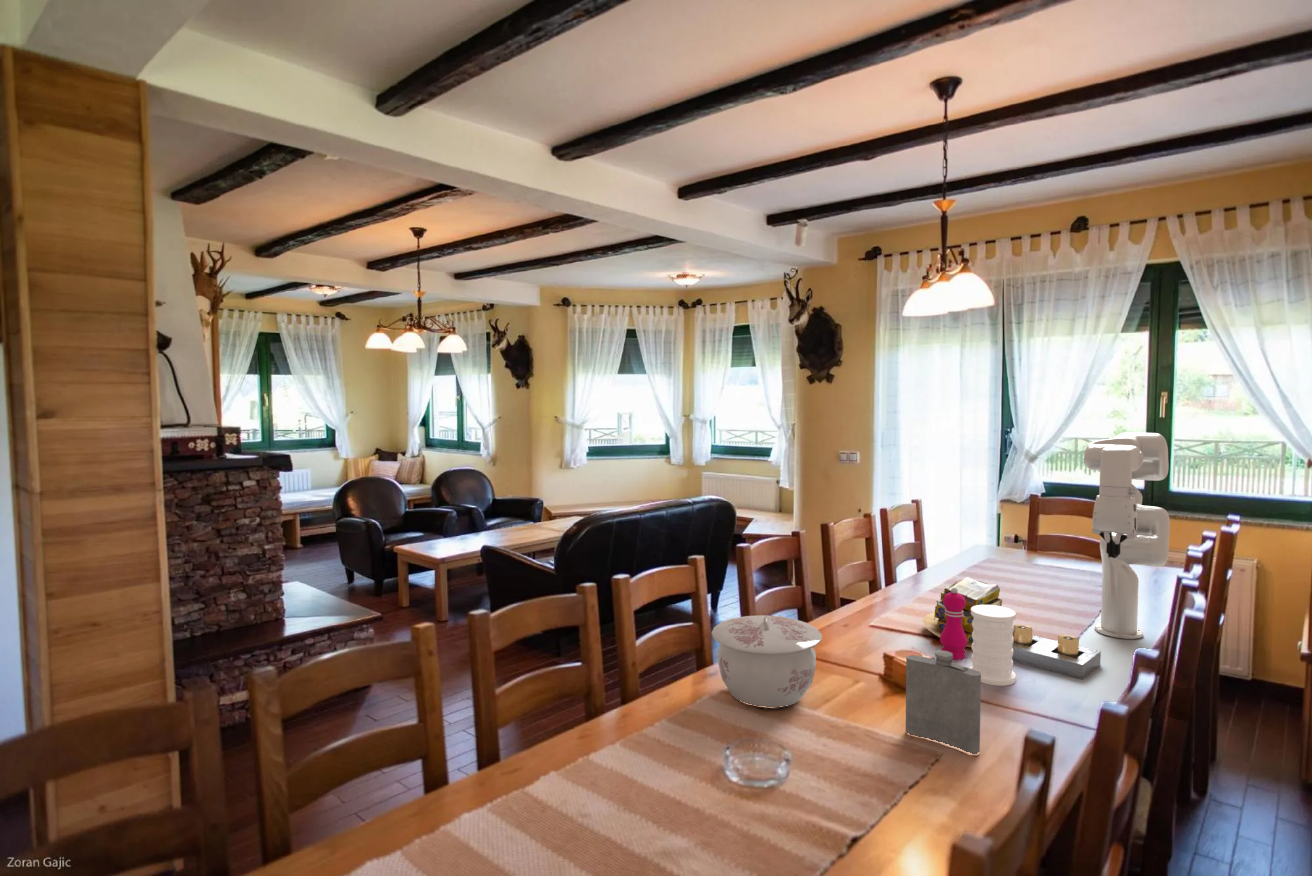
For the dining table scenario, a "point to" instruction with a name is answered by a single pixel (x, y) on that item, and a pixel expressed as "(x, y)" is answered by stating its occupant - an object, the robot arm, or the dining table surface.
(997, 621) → the decorative container
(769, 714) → the dining table surface
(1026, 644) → the jig
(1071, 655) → the bushing
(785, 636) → the chamber pot
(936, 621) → the stacked packages on plate
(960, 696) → the hip flask
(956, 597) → the pepper mill
